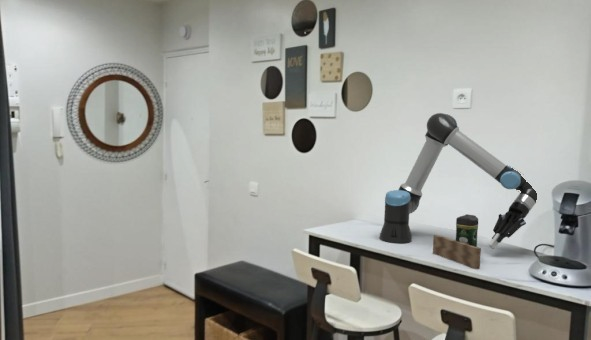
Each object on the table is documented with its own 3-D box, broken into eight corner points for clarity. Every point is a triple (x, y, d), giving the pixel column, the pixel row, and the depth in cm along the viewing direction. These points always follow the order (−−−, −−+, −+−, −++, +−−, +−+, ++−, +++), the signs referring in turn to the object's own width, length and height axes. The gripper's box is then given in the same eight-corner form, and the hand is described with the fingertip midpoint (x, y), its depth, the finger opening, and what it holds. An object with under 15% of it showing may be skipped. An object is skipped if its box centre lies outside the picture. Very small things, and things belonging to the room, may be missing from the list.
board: (432, 253, 197) (433, 235, 196) (436, 252, 198) (437, 234, 197) (475, 269, 175) (477, 248, 175) (479, 268, 176) (481, 248, 175)
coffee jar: (459, 255, 196) (462, 212, 194) (478, 258, 190) (481, 215, 189) (451, 259, 188) (453, 215, 187) (470, 263, 183) (473, 217, 182)
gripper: (538, 214, 195) (507, 256, 190) (512, 209, 207) (483, 248, 202) (530, 203, 193) (499, 244, 187) (505, 198, 205) (475, 237, 199)
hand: (491, 246), depth 194 cm, fingers closed
